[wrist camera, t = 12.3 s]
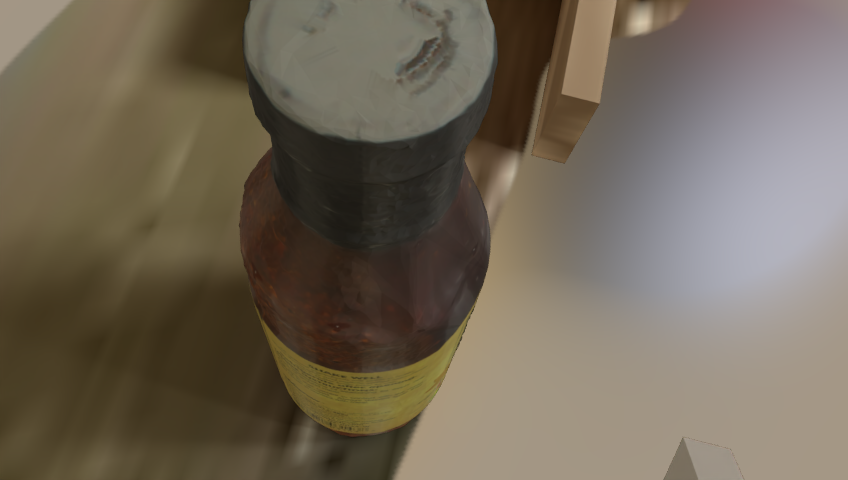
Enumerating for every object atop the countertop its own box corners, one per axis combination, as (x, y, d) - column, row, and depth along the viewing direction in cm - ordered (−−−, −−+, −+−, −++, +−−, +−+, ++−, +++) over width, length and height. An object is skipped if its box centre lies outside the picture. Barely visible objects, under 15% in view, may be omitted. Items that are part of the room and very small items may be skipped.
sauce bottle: (469, 398, 30) (673, 156, 12) (319, 471, 28) (282, 325, 10) (396, 253, 32) (472, -152, 14) (252, 314, 30) (117, -50, 12)
